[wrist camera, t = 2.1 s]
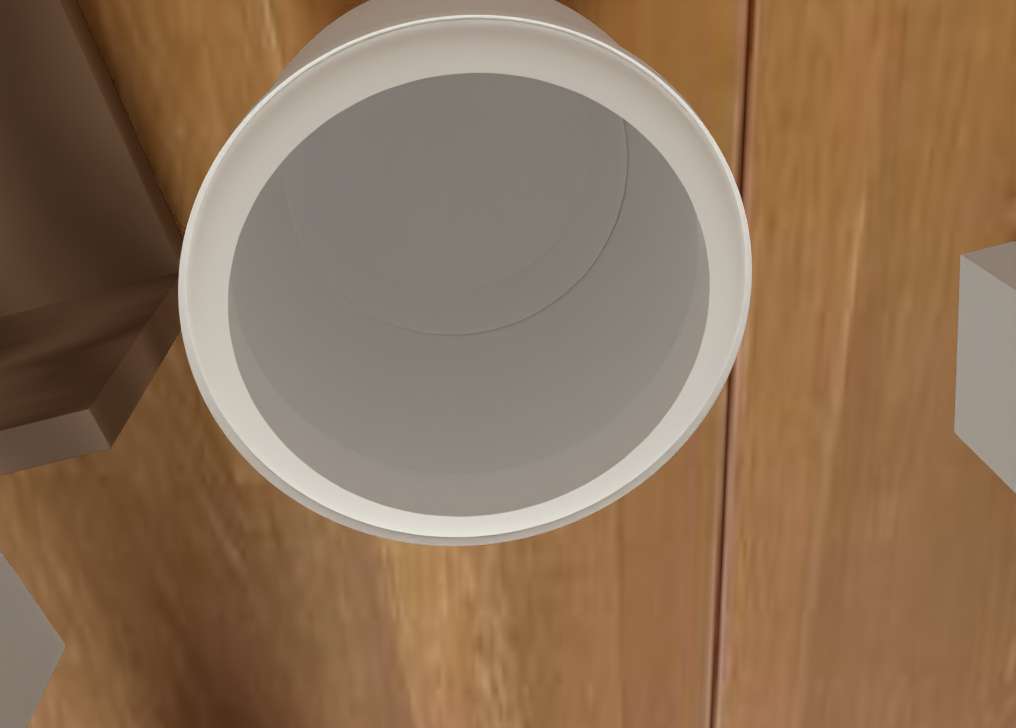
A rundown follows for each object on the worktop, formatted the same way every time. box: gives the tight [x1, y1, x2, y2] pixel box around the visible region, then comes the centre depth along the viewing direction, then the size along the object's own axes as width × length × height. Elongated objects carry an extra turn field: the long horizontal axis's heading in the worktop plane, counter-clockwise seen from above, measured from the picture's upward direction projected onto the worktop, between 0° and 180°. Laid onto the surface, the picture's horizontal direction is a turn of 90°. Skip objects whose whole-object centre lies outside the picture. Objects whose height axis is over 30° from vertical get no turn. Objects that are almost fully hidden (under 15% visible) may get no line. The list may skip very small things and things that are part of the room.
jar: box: [178, 0, 752, 546], centre depth 22 cm, size 11×10×15 cm
